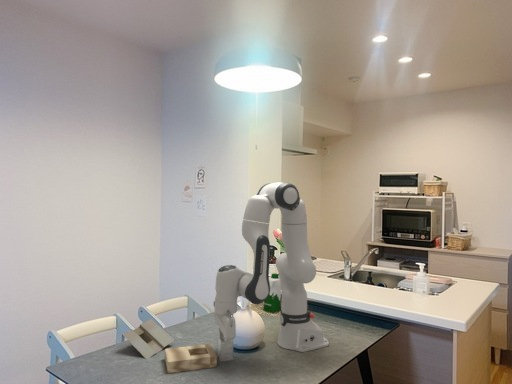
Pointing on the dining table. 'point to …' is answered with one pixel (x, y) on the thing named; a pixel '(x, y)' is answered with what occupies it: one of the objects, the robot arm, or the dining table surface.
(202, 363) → the oak well block
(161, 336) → the beige slotted box
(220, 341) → the metal bracket bar
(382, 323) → the dining table surface
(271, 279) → the milk carton
